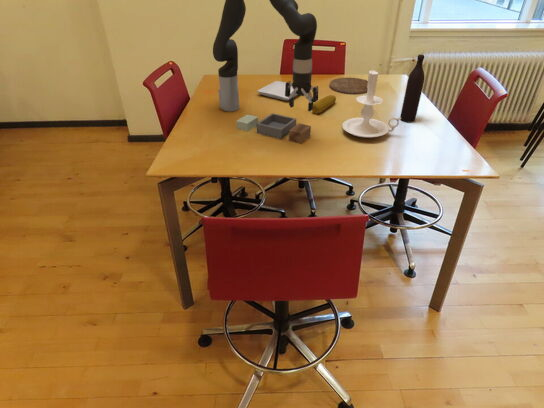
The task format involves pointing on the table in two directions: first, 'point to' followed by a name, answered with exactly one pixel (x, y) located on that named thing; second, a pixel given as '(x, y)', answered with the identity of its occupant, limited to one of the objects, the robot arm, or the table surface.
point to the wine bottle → (413, 92)
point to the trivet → (349, 85)
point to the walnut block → (299, 133)
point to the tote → (275, 125)
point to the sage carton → (247, 122)
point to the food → (323, 104)
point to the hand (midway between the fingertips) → (300, 108)
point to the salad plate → (275, 90)
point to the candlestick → (368, 114)
